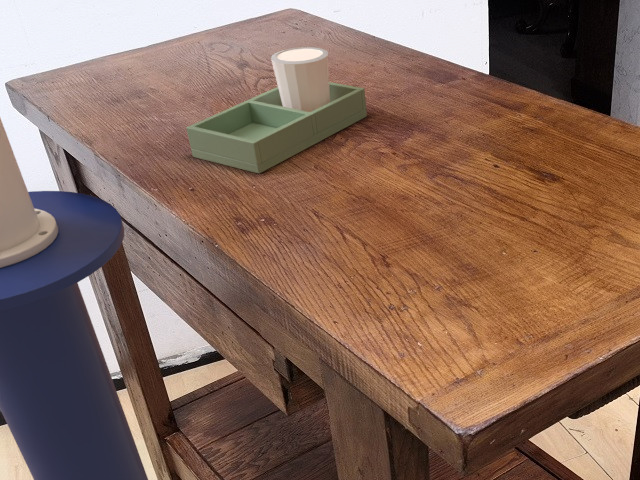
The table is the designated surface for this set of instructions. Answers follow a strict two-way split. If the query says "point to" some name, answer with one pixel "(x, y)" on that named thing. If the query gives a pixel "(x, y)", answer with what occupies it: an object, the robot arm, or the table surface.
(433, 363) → the table surface
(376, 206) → the table surface
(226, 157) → the tray
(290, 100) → the white tapered cup
